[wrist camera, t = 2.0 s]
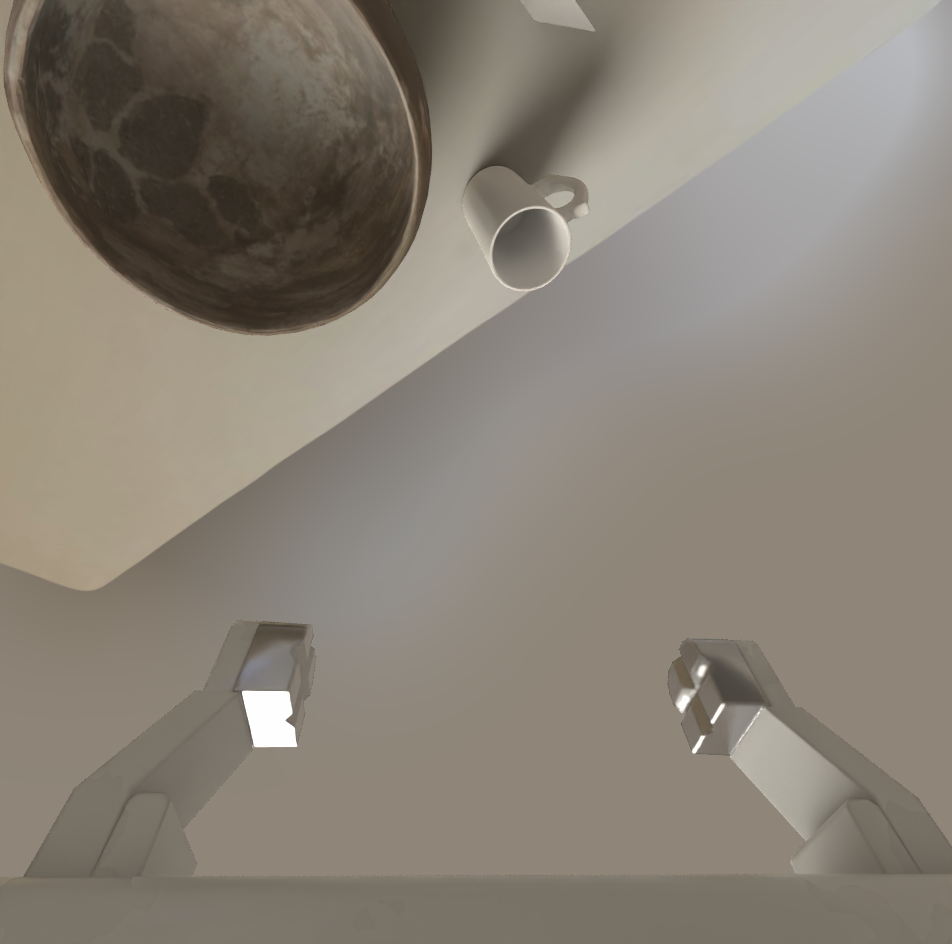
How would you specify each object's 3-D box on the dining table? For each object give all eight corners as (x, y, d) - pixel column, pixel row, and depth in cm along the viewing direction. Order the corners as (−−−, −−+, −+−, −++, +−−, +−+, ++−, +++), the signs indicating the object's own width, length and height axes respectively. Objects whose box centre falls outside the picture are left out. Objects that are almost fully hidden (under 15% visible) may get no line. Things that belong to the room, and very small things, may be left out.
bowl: (-14, 40, 35) (-150, 75, 25) (264, -224, 31) (239, -316, 20) (255, 312, 52) (241, 401, 42) (462, 169, 47) (505, 229, 37)
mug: (478, 251, 53) (510, 306, 45) (446, 188, 48) (474, 237, 40) (568, 195, 51) (618, 241, 43) (543, 124, 46) (594, 161, 38)
